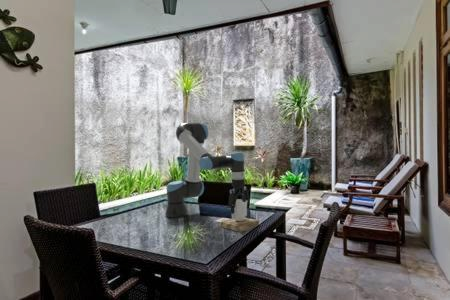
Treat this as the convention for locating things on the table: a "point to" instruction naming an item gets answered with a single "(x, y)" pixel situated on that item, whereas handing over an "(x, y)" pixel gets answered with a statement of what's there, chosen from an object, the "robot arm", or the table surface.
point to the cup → (240, 210)
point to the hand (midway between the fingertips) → (239, 217)
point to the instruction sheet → (221, 219)
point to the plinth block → (240, 224)
